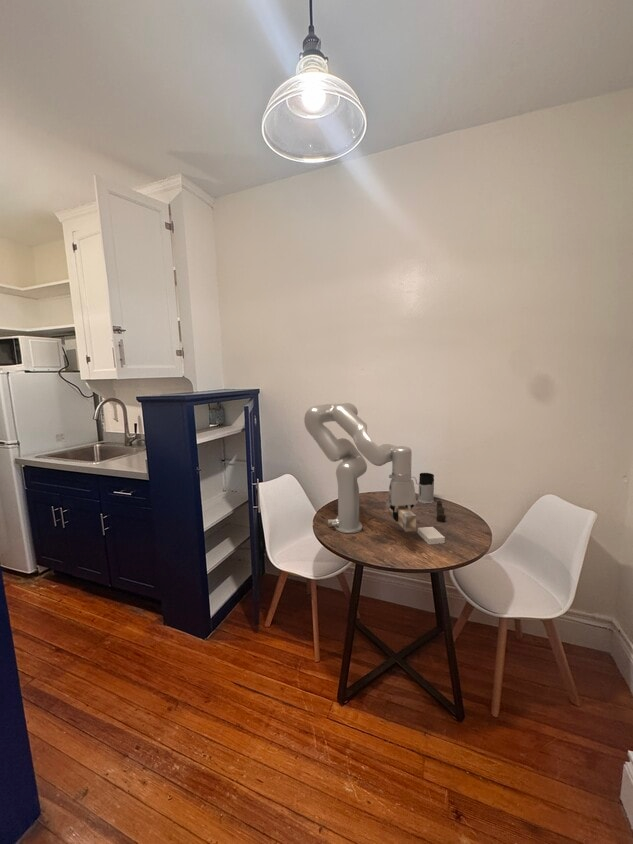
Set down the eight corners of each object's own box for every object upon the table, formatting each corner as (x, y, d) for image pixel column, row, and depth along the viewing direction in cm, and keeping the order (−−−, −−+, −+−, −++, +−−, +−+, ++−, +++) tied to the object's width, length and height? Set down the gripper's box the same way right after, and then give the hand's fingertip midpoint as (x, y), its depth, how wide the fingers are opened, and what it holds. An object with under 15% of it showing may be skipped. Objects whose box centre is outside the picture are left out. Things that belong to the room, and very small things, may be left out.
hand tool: (445, 523, 151) (445, 514, 151) (436, 522, 153) (436, 512, 152) (444, 508, 169) (444, 500, 168) (436, 507, 170) (436, 499, 170)
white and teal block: (417, 533, 142) (428, 545, 132) (417, 527, 141) (428, 538, 131) (432, 532, 143) (444, 543, 133) (432, 526, 142) (444, 537, 132)
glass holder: (436, 503, 174) (437, 477, 173) (409, 503, 176) (410, 476, 174) (431, 498, 183) (432, 472, 181) (406, 497, 184) (406, 472, 182)
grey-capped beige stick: (406, 531, 124) (406, 516, 123) (388, 513, 142) (388, 500, 141) (415, 530, 125) (416, 515, 124) (397, 512, 142) (397, 499, 142)
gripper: (385, 481, 126) (385, 525, 128) (425, 478, 129) (424, 521, 131) (378, 475, 133) (378, 517, 136) (416, 473, 136) (416, 514, 138)
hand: (401, 519), depth 133 cm, fingers closed on grey-capped beige stick, 4 cm apart
